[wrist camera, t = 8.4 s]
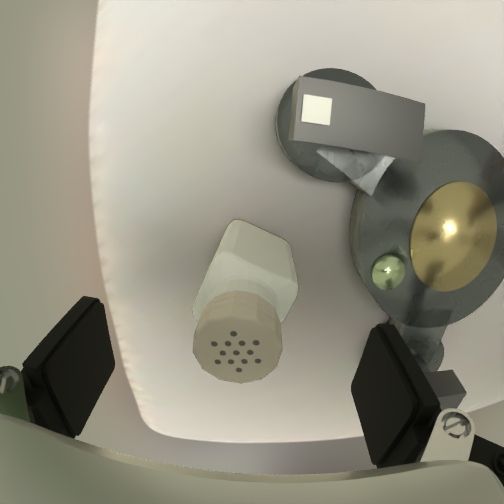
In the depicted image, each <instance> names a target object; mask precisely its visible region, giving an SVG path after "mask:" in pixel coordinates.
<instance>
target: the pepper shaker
mask: <svg viewBox="0 0 504 504" xmlns="http://www.w3.org/2000/svg"><path fill="white" fill-rule="evenodd" d="M297 291H298V282H297V277H296V272H295V267H294V263H293V258H292V253H291V248H290V245H289V244H288V243H287V242H286V241H285V240H283V239H281V238H279V237H277V236H275V235H273V234H271V233H268V232H266V231H264V230H262V229H260V228H258V227H256V226H253V225H251V224H249V223H247V222H245V221H243V220H233V221H232V222H231V223H230V224H229V225H228V227H227V229H226V231H225V233H224V236H223V238H222V240H221V242H220V244H219V247H218V249H217V251H216V253H215V255H214V258H213V260H212V262H211V264H210V267H209V269H208V271H207V274H206V276H205V278H204V281H203V283H202V285H201V288H200V290H199V293H198V295H197V297H196V300H195V302H194V305H193V307H192V311H193V316H194V318H195V319H196V320H197V321H198V325H197V328H196V331H195V333H194V342H193V353H194V355H195V357H196V359H197V360H198V362H199V364H200V365H201V367H202V369H204V370H205V371H207V372H208V373H210V374H212V375H213V376H215V377H216V378H218V379H220V380H224V381H230V382H236V383H245V382H250V381H254V380H259V379H262V378H263V377H265V376H266V375H267V374H268V373H270V372H271V371H272V370H273V369H275V368H276V367H277V365H278V362H279V359H280V355H281V352H282V338H281V323H282V322H283V320H284V318H285V317H286V315H287V313H288V312H289V310H290V308H291V306H292V304H293V302H294V301H295V299H296V297H297Z"/></svg>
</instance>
